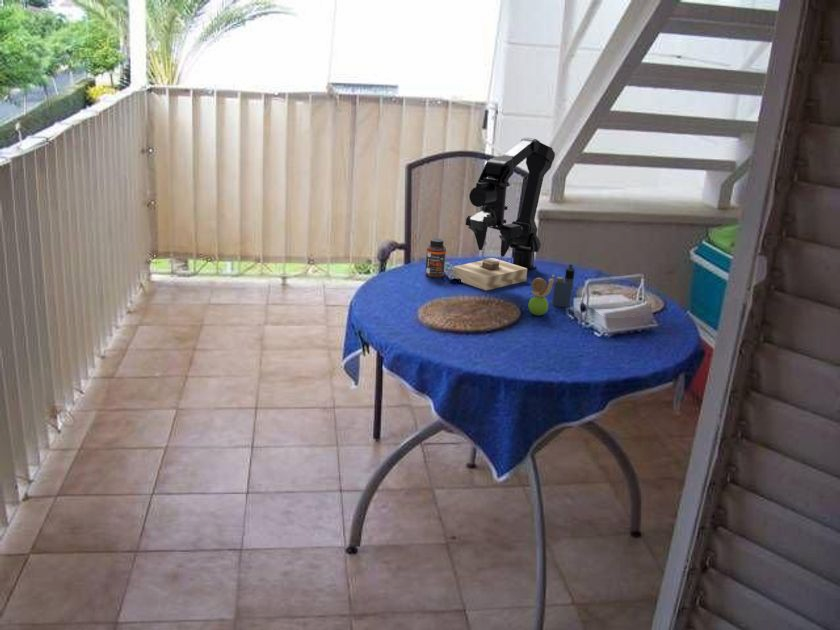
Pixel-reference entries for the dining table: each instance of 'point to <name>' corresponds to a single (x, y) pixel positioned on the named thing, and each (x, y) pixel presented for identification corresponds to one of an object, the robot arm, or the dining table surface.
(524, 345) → the dining table surface
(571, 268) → the vaping device
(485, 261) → the peg
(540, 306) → the snail figurine
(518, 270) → the socket board
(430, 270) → the supplement bottle
